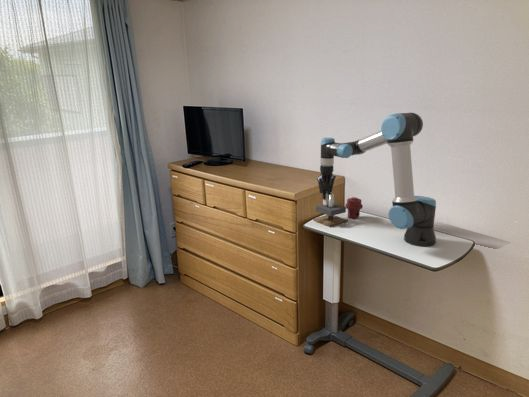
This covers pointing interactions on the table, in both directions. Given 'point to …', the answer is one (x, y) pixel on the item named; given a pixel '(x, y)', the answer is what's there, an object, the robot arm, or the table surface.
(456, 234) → the table surface
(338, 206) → the collar
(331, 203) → the post
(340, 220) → the base
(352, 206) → the mechanical component
